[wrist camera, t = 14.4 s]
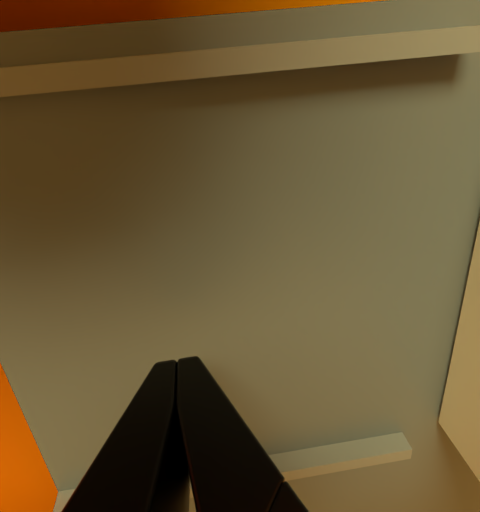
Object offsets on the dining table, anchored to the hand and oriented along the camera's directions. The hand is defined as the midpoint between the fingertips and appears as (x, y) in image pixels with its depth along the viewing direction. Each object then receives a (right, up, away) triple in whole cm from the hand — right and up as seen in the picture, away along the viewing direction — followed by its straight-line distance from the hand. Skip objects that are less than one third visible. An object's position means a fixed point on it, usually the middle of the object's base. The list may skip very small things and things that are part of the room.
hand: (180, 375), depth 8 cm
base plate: (+6, 0, +4) cm, 8 cm away
